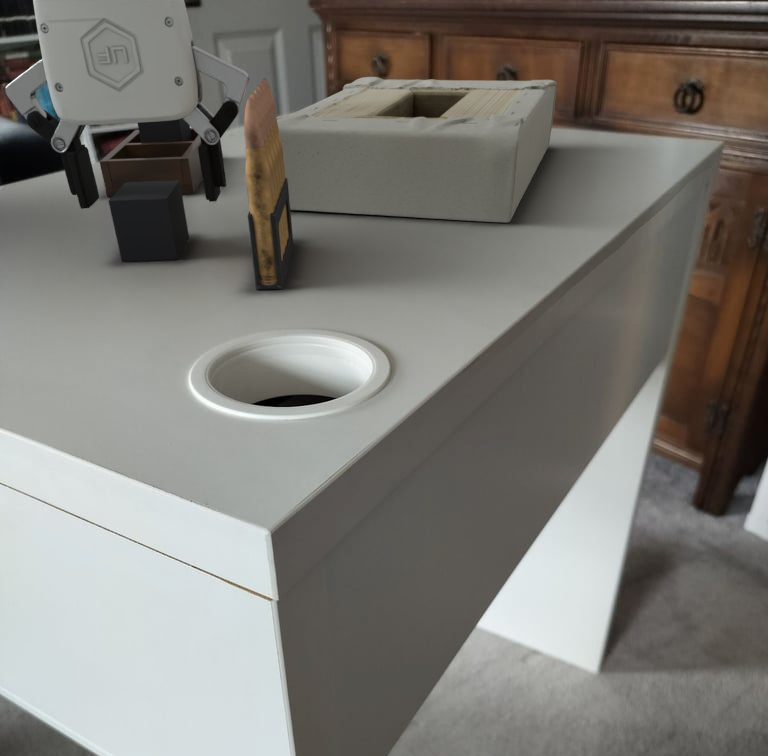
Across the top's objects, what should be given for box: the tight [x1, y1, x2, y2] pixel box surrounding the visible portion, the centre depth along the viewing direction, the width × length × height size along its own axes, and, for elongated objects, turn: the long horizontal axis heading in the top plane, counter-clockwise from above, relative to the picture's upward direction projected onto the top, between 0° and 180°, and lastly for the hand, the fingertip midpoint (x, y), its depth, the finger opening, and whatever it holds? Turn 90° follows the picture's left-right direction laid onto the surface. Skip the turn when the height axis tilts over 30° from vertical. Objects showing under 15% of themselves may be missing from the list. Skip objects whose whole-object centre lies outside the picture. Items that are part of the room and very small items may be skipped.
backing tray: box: [99, 127, 203, 198], centre depth 83 cm, size 9×16×3 cm, turn 3°
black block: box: [108, 181, 190, 263], centre depth 62 cm, size 4×6×5 cm
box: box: [276, 76, 558, 223], centre depth 79 cm, size 23×8×32 cm
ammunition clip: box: [243, 78, 294, 291], centre depth 56 cm, size 11×2×12 cm, turn 1°
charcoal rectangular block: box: [137, 118, 192, 143], centre depth 86 cm, size 4×6×5 cm
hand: (152, 200), depth 61 cm, fingers open, 9 cm apart
